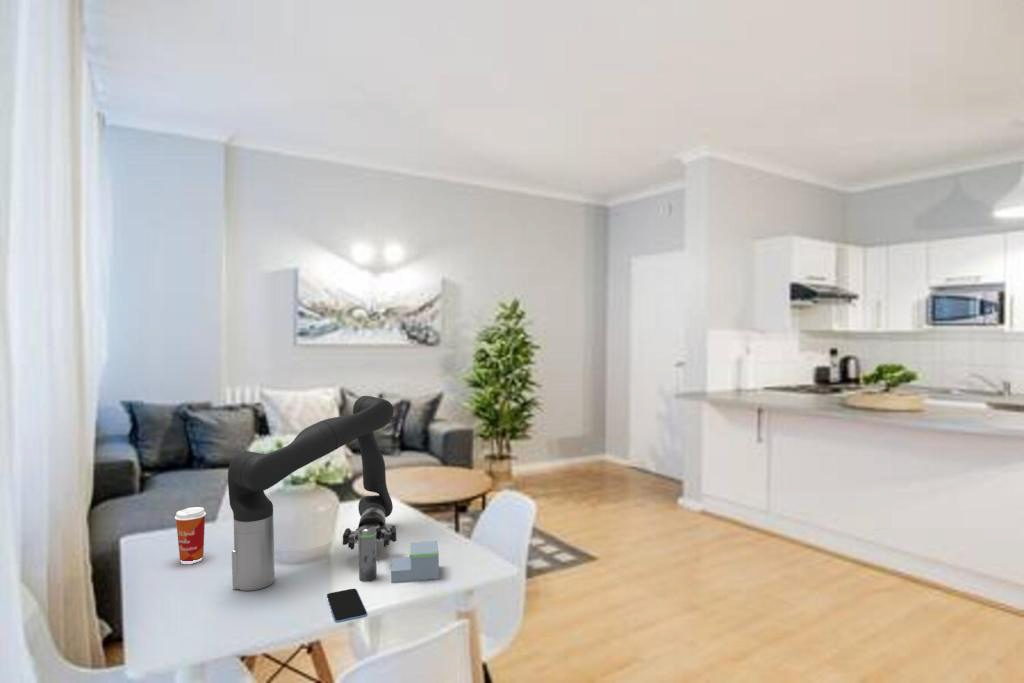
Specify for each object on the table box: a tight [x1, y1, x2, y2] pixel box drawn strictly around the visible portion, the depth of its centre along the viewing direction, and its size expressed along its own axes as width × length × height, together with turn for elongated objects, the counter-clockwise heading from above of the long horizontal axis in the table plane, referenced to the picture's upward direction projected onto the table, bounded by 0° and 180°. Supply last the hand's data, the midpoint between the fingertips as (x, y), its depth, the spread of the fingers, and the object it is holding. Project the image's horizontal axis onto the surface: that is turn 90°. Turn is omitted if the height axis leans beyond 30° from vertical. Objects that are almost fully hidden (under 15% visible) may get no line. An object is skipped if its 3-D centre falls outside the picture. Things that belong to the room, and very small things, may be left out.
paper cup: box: [174, 506, 207, 561], centre depth 165 cm, size 8×8×14 cm
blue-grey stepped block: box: [390, 540, 440, 584], centre depth 155 cm, size 12×8×7 cm
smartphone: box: [326, 588, 368, 624], centre depth 139 cm, size 7×1×15 cm
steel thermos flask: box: [357, 525, 378, 583], centre depth 154 cm, size 5×5×13 cm
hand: (368, 544), depth 158 cm, fingers open, 8 cm apart
